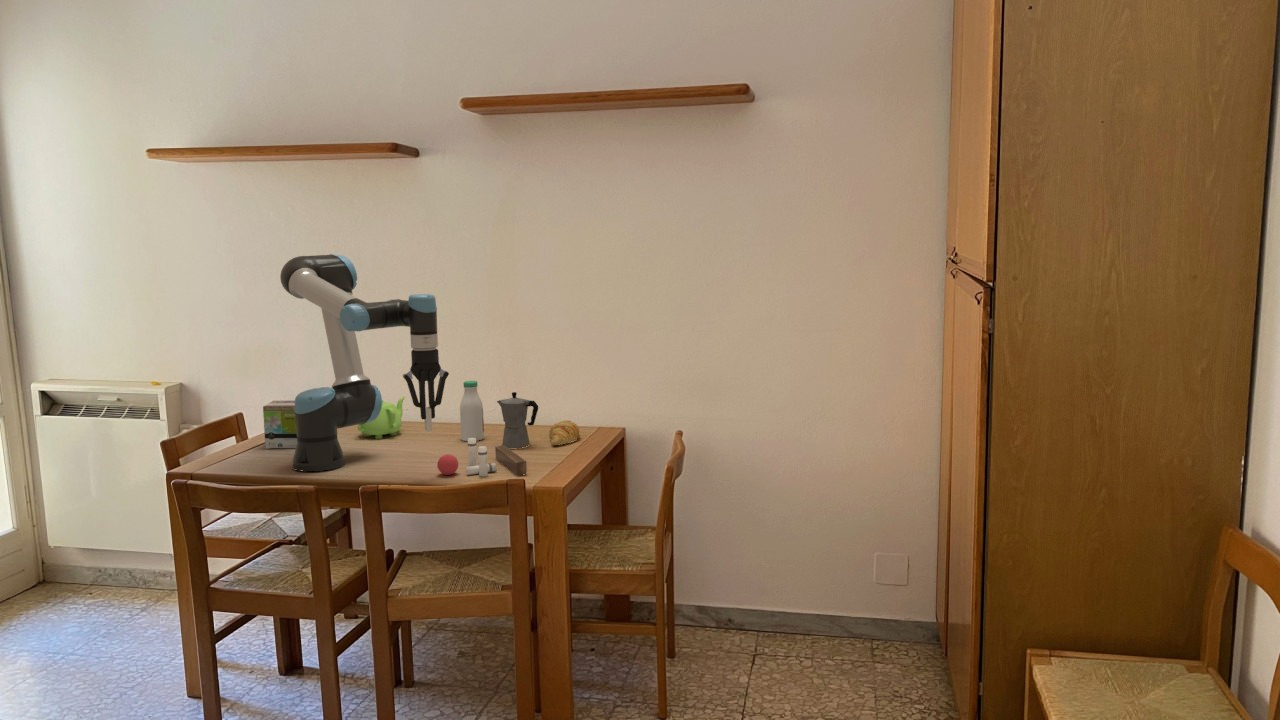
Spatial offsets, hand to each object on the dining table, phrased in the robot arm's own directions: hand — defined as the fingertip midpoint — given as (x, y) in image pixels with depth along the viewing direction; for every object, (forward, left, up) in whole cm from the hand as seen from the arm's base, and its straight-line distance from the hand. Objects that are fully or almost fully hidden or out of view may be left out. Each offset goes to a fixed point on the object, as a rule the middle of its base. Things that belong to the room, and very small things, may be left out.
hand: (428, 429), depth 268 cm
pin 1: (+14, +6, -14) cm, 21 cm away
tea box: (-33, +61, -14) cm, 71 cm away
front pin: (+10, -3, -13) cm, 16 cm away
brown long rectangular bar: (+24, 0, -14) cm, 28 cm away
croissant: (+50, +25, -14) cm, 58 cm away
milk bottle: (+23, +41, -14) cm, 49 cm away
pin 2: (+14, -6, -14) cm, 21 cm away
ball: (+5, 0, -11) cm, 12 cm away
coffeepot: (+34, +24, -14) cm, 44 cm away
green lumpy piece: (-3, +63, -14) cm, 65 cm away
